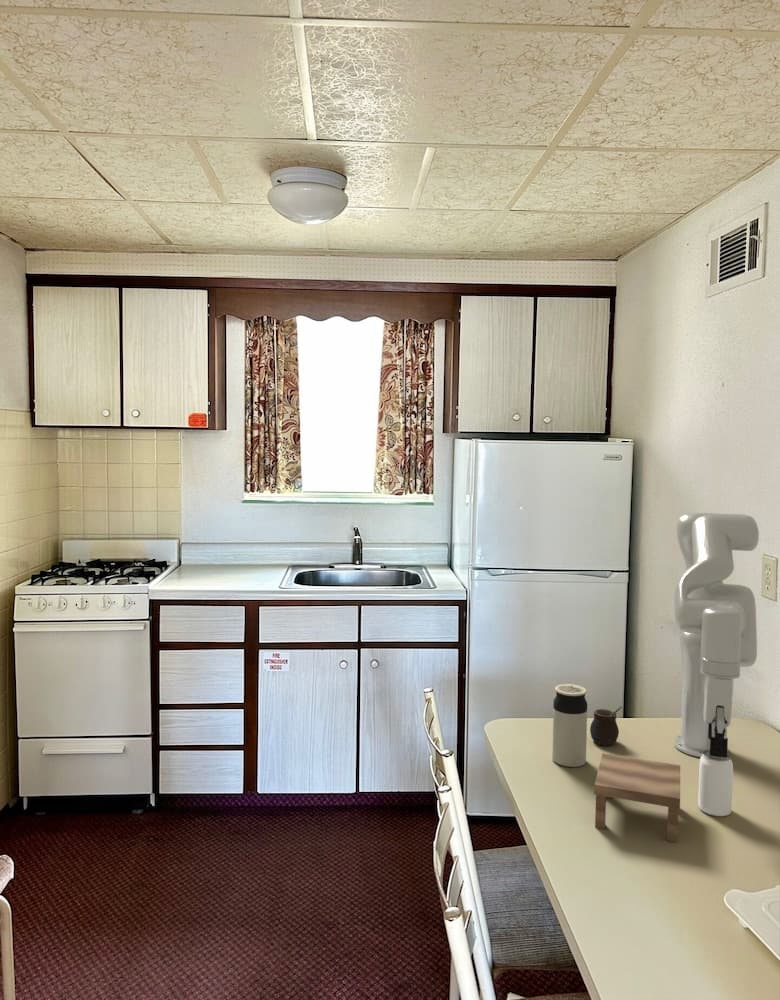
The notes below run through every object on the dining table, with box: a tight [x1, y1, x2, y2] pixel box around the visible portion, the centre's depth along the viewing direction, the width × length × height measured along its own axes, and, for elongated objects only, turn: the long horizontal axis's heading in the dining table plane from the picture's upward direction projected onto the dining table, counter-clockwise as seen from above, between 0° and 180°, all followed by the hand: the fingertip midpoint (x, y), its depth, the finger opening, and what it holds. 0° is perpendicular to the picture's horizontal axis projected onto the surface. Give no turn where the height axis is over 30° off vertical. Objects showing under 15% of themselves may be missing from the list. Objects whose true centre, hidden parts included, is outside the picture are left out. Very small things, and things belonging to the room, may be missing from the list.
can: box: [697, 750, 734, 818], centre depth 155 cm, size 6×6×12 cm
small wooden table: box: [593, 753, 681, 843], centre depth 153 cm, size 16×16×9 cm
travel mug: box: [551, 683, 588, 768], centre depth 179 cm, size 8×8×18 cm
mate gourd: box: [589, 706, 622, 746], centre depth 191 cm, size 7×8×10 cm
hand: (717, 747), depth 154 cm, fingers open, 9 cm apart
